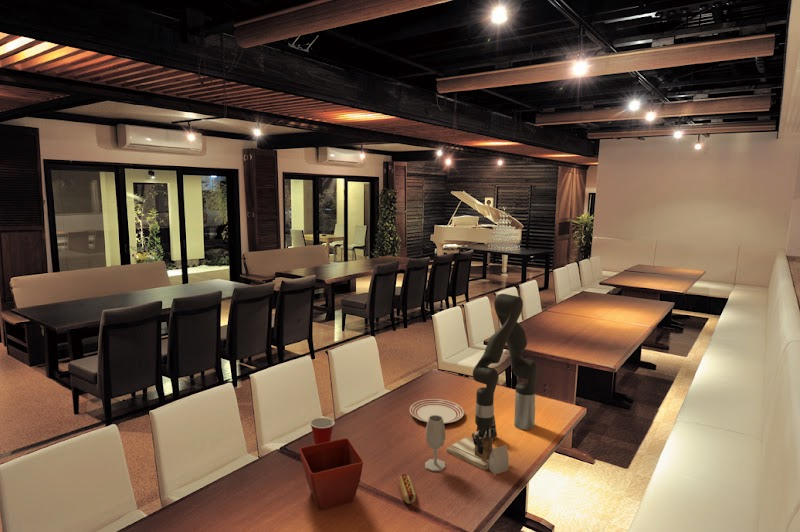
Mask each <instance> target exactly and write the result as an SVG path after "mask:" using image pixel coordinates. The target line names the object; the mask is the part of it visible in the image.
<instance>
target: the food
mask: <svg viewBox="0 0 800 532" xmlns="http://www.w3.org/2000/svg"><path fill="white" fill-rule="evenodd" d="M398 489H399V491H400V495H401V498H402V500H404V502H405V503H406V504H408V505H409V504H414V502H416V499H417V493H416V489H415V486H414V484H413V482H412V480H411V477H410V476H409V475H407V474H405V473H403V474H401V475H400V476H399V479H398Z"/></svg>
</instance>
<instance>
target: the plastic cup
mask: <svg viewBox="0 0 800 532" xmlns="http://www.w3.org/2000/svg"><path fill="white" fill-rule="evenodd" d="M309 425H310V427H311V431H312V436H313V441H314V445H316V444H320V443H325V442H330V441H332V440H331V439H332V434H333V428H334V425H335V420H333V419H332V418H328V417H317V418H316V417H315V418H313V419H310V422H309Z"/></svg>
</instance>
